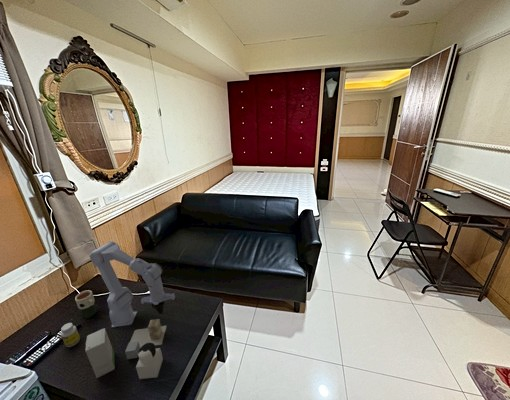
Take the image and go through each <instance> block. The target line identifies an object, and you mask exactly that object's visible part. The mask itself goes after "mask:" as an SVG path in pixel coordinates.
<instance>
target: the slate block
mask: <svg viewBox="0 0 510 400" xmlns="http://www.w3.org/2000/svg"><path fill="white" fill-rule="evenodd" d="M139 349H140V345H139V342H131V343H130V342H128V343H127V346H126V349H125V350H124V351H125V352H124V353H125V356H126V359H127V360H131V359H137V358H139V356H138V351H139Z"/></svg>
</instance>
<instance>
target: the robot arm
mask: <svg viewBox="0 0 510 400" xmlns="http://www.w3.org/2000/svg"><path fill="white" fill-rule="evenodd" d="M89 259H90V261H91V263H92V264H93V266H94V267H95V268H97V271H98V272H99V274H100V276H101V278H102V280H103V282H104V283H105V285H106V287H107V289H108V291H109V295H108V297H107V300H106V302H107V306H108V307H107V308H108V309H109V319H110V323H111V328H117V327H123V326H130V325H133V322H134V320H135V317H136V316H137V313H138V311H134V310H133V307H132V306H133V305H132V301H133V300H132V299H134V294H133V292H132V291H131V290H130V289H129V288H128V287H126V286H123V285H122V284H121V282H120V280H119V278H118V276H117V274H116V271H115V270H114V268H113V266H112V263H111V261H113V260H114V261H117V262H119V263H121V264H123V265H126V266H128V267H129V270H130V271H132V272H133V273H136V274H137V275H139V276H141V277H142V279H143V281H144V282H145V284H146V286H147V287H148V292H149V295H147V296H145V297H142V298H141V300H140V304H141V305H144V304H145V303H146V304H151V308H153V309H155V310H156V311H157V312H158V314H159V315H163V313H164V304H165V301H168V300H171V301H172V300H173V301H174V300H175V299H176V295H175V293H169V292H168V293H167V292H165V290H164V285H163V282H162V278H161V275H162V274H163V268H162V266H160V265H159V264H158V263H152V262H151V263H150V262H147V261H145V260H144V259H141V258H139V257H137V258H134V257H132V256H131V255H129V254H128V253H127V252H125V251H123V250H122V249H121V248H120V245H119V244H117V243H116V242H115V241H108V242H107V243H105V244H103V245H102V246H100V247H98V248H97V249H95V250H93V251H91V252H90V254H89Z"/></svg>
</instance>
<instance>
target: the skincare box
mask: <svg viewBox="0 0 510 400" xmlns="http://www.w3.org/2000/svg"><path fill="white" fill-rule="evenodd" d="M85 353H86V356H87V359H88V360H89V363H90V365H91V367H92V371H93V373H94V375H95V378H96V379H98V378H100V377H102V376H105V375H106V374H108V373H110V372H112V371H114V370H115V367H116V366H115V352H114V349H113V346H112V344H111V341H110V339H109V335H108V333H107V330H106V328H104V327H103V328H101V329H98V330H97V331H95V332H92V333H90V334H88V335H87V336H86V341H85Z"/></svg>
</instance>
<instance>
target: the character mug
mask: <svg viewBox="0 0 510 400" xmlns="http://www.w3.org/2000/svg"><path fill="white" fill-rule="evenodd" d="M74 300H75V303H76V305H77V308H78V309H79V310H81V313H82V318H84V319H89V318H91V317H93V316H94V315H95V314H96V313H97V312H98V309H97V307H96V305H95V303H96V302H95V301H96V300H95V297H94V294H93V291H92V290H89V289H88V290H87V289H86V290H83V291H81V292H79V293H78V294H77V295H75V298H74Z"/></svg>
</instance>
